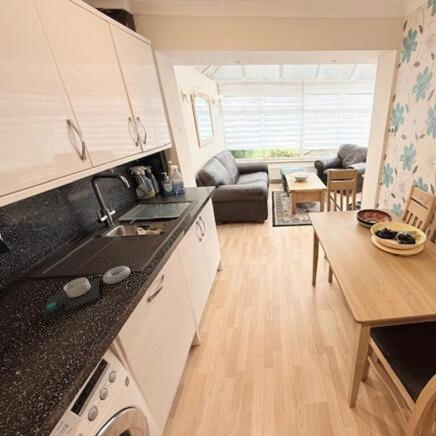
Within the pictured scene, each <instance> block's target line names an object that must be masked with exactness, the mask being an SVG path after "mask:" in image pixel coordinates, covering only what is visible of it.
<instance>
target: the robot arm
mask: <svg viewBox="0 0 436 436" xmlns="http://www.w3.org/2000/svg"><path fill="white" fill-rule="evenodd" d="M11 252H12V250H11V248H10V246H9V245H8V243H7V242H6V241H5V240H4V238H3V237H2V236H1V233H0V255H1V256H2V255H5V254H9V253H11ZM2 265H3V261H2V260H1V259H0V266H2Z"/></svg>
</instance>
